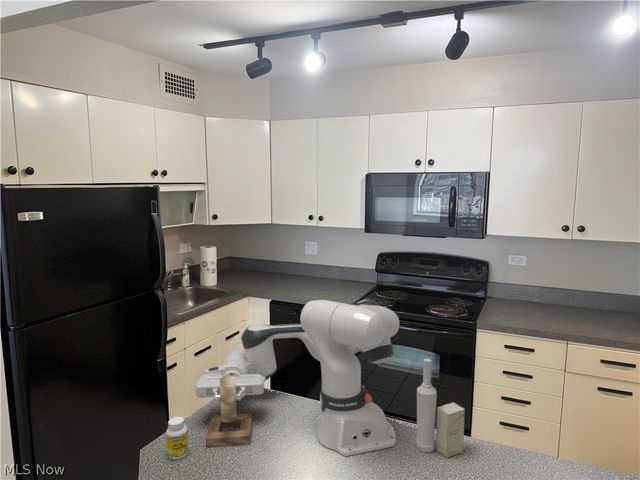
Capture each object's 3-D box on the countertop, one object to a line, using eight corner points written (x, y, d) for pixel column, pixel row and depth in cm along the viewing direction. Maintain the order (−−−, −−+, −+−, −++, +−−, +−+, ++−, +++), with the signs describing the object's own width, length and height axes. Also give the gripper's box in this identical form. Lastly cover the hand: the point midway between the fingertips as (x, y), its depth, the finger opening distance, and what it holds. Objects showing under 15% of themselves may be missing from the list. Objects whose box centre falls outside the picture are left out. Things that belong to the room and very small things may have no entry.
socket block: (252, 420, 129) (252, 413, 128) (249, 444, 117) (249, 435, 116) (212, 423, 127) (212, 415, 127) (205, 447, 116) (205, 438, 115)
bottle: (420, 439, 118) (421, 354, 115) (437, 445, 115) (440, 359, 112) (412, 448, 114) (414, 361, 111) (430, 455, 111) (433, 365, 108)
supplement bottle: (185, 445, 117) (183, 413, 115) (191, 455, 112) (189, 421, 111) (165, 452, 114) (163, 419, 112) (170, 462, 109) (168, 428, 108)
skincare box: (446, 458, 110) (448, 415, 108) (434, 449, 114) (435, 407, 112) (464, 451, 113) (465, 408, 111) (452, 442, 117) (453, 401, 115)
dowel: (237, 414, 124) (235, 375, 123) (235, 421, 120) (234, 381, 118) (222, 414, 124) (220, 376, 122) (220, 422, 119) (218, 382, 118)
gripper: (265, 385, 135) (264, 407, 121) (201, 388, 133) (192, 411, 119) (265, 366, 134) (263, 386, 121) (200, 369, 132) (191, 390, 119)
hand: (227, 398), depth 120 cm, fingers closed on dowel, 4 cm apart
